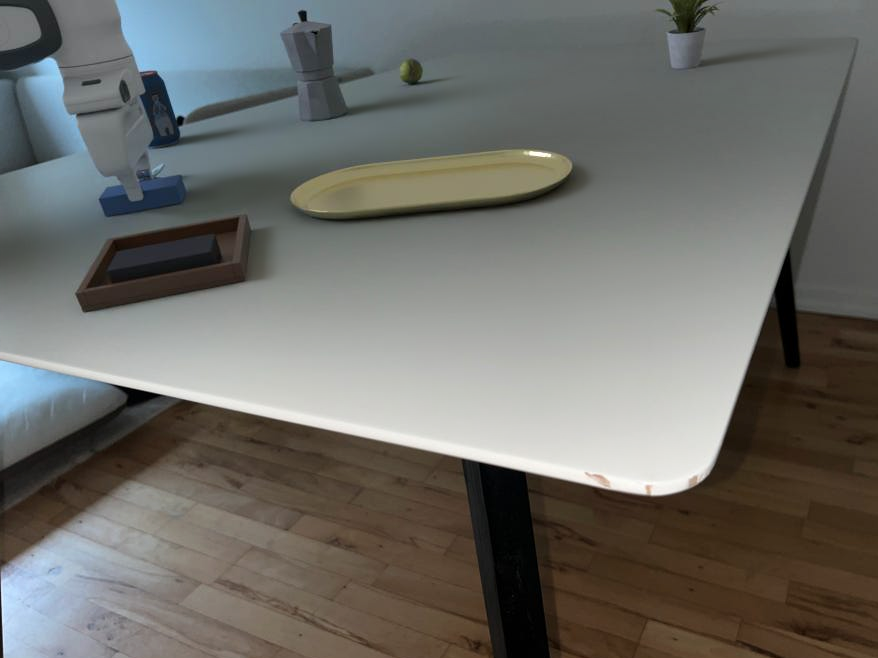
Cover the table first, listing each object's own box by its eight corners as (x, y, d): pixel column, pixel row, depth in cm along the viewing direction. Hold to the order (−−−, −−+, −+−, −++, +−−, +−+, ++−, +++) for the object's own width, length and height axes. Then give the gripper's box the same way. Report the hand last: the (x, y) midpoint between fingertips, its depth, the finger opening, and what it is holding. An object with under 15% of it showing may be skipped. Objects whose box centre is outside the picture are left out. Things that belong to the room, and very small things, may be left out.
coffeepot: (358, 115, 135) (338, 7, 126) (308, 126, 132) (284, 16, 123) (334, 103, 148) (314, 4, 138) (288, 113, 144) (264, 12, 135)
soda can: (156, 139, 137) (134, 71, 131) (189, 137, 135) (168, 68, 129) (134, 150, 131) (110, 79, 125) (169, 148, 130) (145, 76, 123)
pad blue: (105, 216, 98) (98, 198, 97) (113, 204, 103) (106, 186, 102) (182, 203, 100) (176, 185, 98) (186, 191, 104) (181, 174, 103)
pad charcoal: (115, 293, 73) (106, 270, 72) (125, 272, 78) (117, 251, 77) (218, 274, 75) (210, 251, 74) (221, 254, 80) (214, 233, 78)
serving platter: (578, 202, 82) (578, 188, 82) (275, 231, 86) (271, 218, 85) (568, 155, 98) (567, 143, 98) (312, 180, 102) (310, 169, 101)
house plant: (710, 75, 131) (714, -28, 122) (636, 75, 138) (635, -23, 129) (734, 59, 140) (740, -38, 132) (664, 59, 148) (666, -32, 139)
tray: (82, 312, 72) (74, 293, 71) (113, 254, 85) (107, 238, 84) (245, 280, 74) (239, 262, 73) (251, 229, 87) (246, 213, 86)
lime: (398, 86, 156) (394, 61, 153) (412, 81, 159) (408, 56, 156) (414, 86, 153) (410, 61, 151) (428, 81, 157) (425, 56, 154)
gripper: (96, 76, 102) (132, 174, 109) (58, 103, 84) (103, 218, 91) (143, 68, 103) (175, 167, 110) (115, 94, 85) (155, 209, 92)
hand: (142, 190), depth 100 cm, fingers open, 6 cm apart
